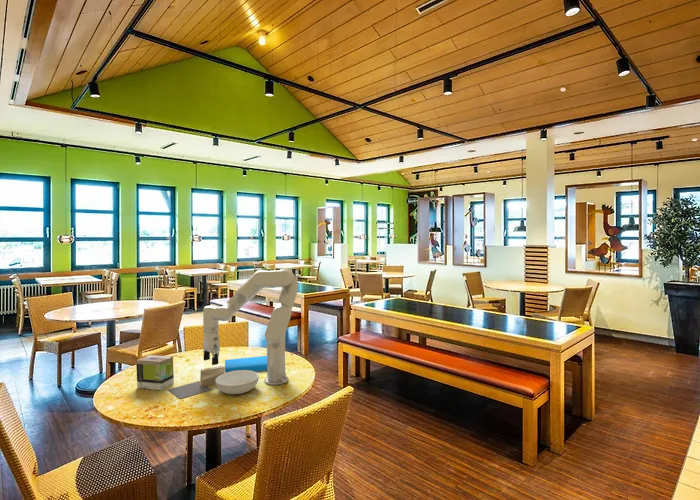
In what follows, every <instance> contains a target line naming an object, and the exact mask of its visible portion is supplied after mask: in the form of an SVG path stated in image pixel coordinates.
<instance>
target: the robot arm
mask: <svg viewBox="0 0 700 500" xmlns="http://www.w3.org/2000/svg"><path fill="white" fill-rule="evenodd" d="M265 288H266V289H267V288H281V290H280V293H279V296H278V299H277V302H276V304H275V306H274V308H273V310H272V313H271V316H270V317H269V321H268V324H267V326H266V329H265V332H264V338H265V341H266V356H267V370H266V375H267V377H265V378H264V381H263V382H264V383H265V384H266V385H269V386H270V385H271V386H278V385H284V384H285V383H287V382H288V381H289V376H287V373H286V331H287V329H288V326H289V324H290V320H291V317H292V311H293V307H294V304H295V301H296V297H297V295H298V291H299V284H298V279H297V277H296V276H295V274H294V273H293V272H292V271H291V270H290V269H289V268H285V267H284V268H281V269H278V270H268V271H267V270H266V269H258V270H257V271H255V272H254V273H253V274H252V276H250V277H249V278H248V279H247V280H246V281H245V282H244V283H243V284H242V285H240V287H239V288H238V289H237V291H236V292H235V294H234V295H232V297H231V298H230V299H228V300H227V301H226V302H225V304H224V303H223V305H222V306H220V307H219V306H217V305H214V304H213V305H212V304H211V305H206V306H204V307H203V309H202V311H203V312H202V318H203V321H202V324H203V326H202V327H203V328H202V332H203V333H202V334H203V337H202V338H203V340H202V349H203V350H202V352H203V361H209V360H210V359H211V365H212V366H215V365H218V364H219V356H220V352H221V351H220V347H221V346H220V345H221V344H220V335H219V331H220V329H219V328H220V327H219V321H221V322H227V321H229V320H231V319H232V318H233V317H234V316H235V314H237V312H238V311H240V309H241V308H242V307H243V306H244V305H246V304H247V303H248V302H250V301H252V300H253V299H254V297H255V296H257V294H258V293H259V292H261V290H263V289H265ZM211 355H212V357H211Z"/></svg>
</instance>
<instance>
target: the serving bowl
mask: <svg viewBox="0 0 700 500" xmlns="http://www.w3.org/2000/svg"><path fill="white" fill-rule="evenodd" d="M215 382H216V384H215V385H216V387H217V389H218V391H220V392H221V393H222V394H227V395H240V394H244V393H247V392H249V391H251V390H253V389H254V388H255V387H256V386H257V384H258V382H259V373H258V372H254V371H250V370H237V371H231V372H227V373H224V374H222V375H220V376H218V377H217V378H216V380H215Z"/></svg>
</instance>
